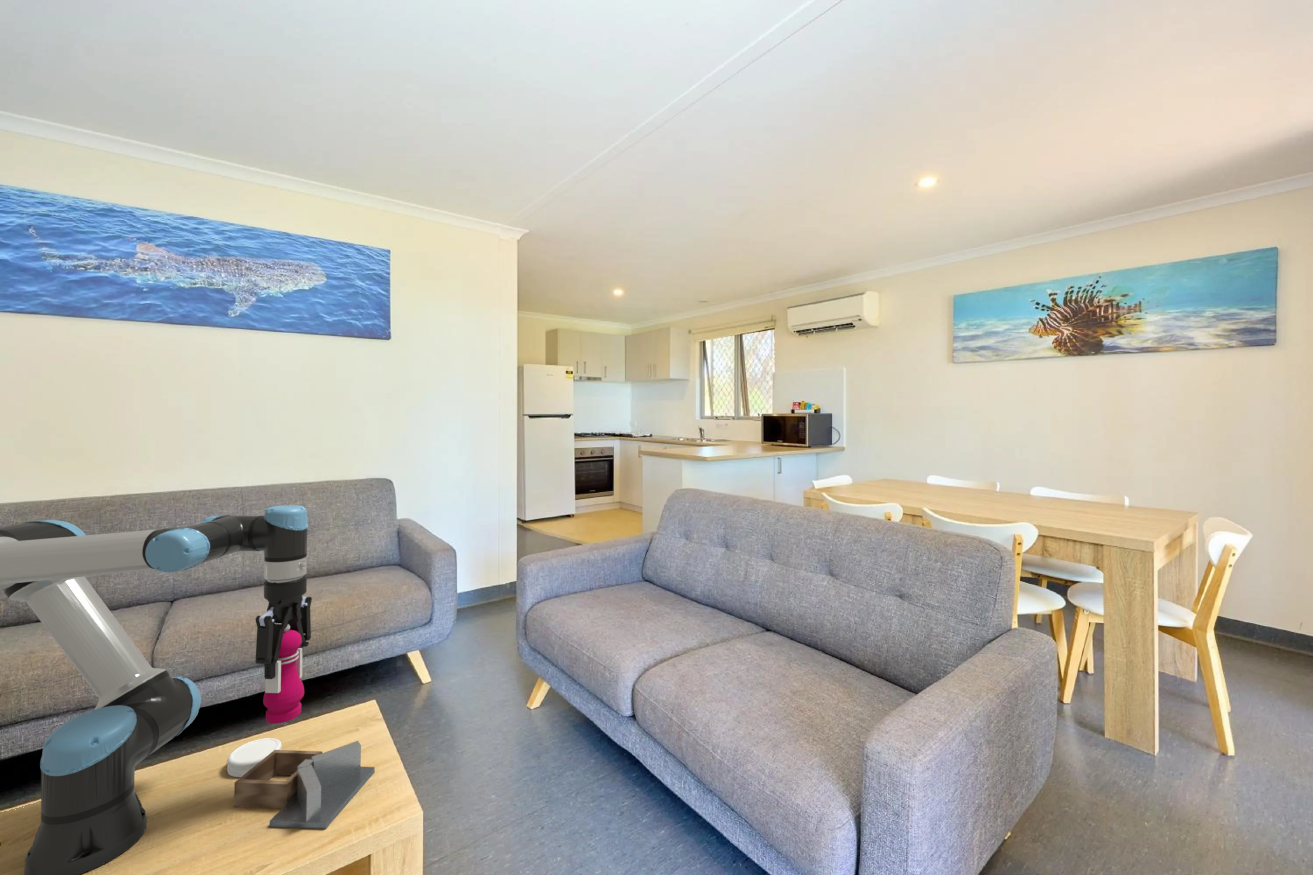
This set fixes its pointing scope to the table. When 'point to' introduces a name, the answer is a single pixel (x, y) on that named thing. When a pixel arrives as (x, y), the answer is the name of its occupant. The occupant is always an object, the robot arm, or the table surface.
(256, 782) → the wooden square frame
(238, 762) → the coaster
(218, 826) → the table surface
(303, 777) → the v block
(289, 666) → the pepper mill
